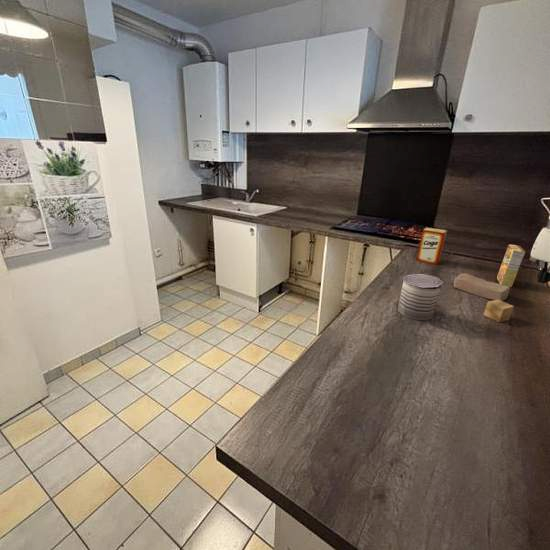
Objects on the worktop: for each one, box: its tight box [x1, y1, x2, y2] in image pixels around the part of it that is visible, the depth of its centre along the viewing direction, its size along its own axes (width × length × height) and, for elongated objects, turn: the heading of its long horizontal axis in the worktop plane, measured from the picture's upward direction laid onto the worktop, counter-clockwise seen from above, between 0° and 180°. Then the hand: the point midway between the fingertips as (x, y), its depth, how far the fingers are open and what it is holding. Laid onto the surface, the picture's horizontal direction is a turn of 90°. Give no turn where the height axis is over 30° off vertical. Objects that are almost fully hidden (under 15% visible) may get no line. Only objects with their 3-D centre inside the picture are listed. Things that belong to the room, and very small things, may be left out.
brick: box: [453, 272, 511, 302], centre depth 112 cm, size 17×8×5 cm, turn 39°
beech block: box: [483, 300, 515, 323], centre depth 94 cm, size 5×5×5 cm
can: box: [397, 273, 445, 321], centre depth 95 cm, size 11×11×12 cm
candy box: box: [496, 244, 526, 288], centre depth 119 cm, size 9×4×15 cm, turn 153°
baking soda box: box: [415, 227, 448, 266], centre depth 142 cm, size 10×6×16 cm
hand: (542, 282), depth 94 cm, fingers closed
